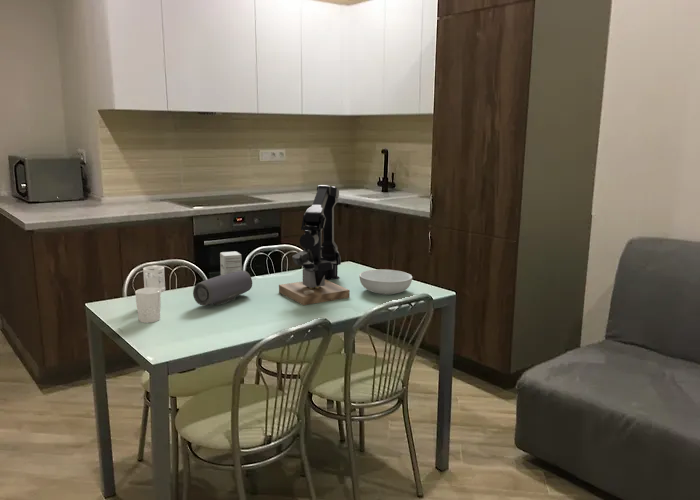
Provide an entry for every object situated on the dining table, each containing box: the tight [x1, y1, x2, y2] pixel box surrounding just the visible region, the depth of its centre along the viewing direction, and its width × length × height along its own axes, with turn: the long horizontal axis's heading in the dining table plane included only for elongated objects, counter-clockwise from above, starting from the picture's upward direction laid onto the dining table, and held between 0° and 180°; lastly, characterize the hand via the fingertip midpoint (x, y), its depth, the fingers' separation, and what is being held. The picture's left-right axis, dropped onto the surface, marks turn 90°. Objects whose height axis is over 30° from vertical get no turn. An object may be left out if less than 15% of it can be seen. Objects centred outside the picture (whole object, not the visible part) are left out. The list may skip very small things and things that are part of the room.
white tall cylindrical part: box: [142, 264, 166, 293], centre depth 210 cm, size 7×7×15 cm
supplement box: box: [219, 250, 243, 275], centre depth 242 cm, size 7×7×13 cm
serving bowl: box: [359, 268, 413, 296], centre depth 233 cm, size 21×21×7 cm
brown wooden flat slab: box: [278, 279, 351, 306], centre depth 228 cm, size 20×20×4 cm
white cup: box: [134, 287, 162, 324], centre depth 195 cm, size 8×8×10 cm
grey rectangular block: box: [302, 268, 326, 290], centre depth 227 cm, size 6×6×8 cm
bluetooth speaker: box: [192, 270, 253, 307], centre depth 217 cm, size 23×9×10 cm, turn 149°
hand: (313, 283), depth 227 cm, fingers closed on grey rectangular block, 6 cm apart
